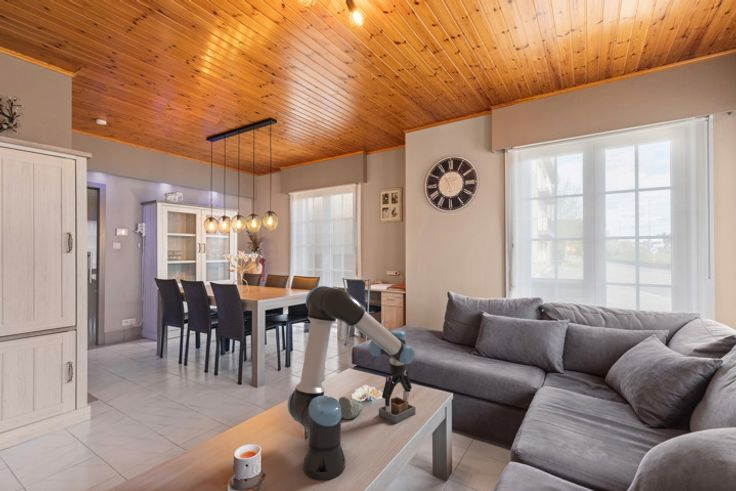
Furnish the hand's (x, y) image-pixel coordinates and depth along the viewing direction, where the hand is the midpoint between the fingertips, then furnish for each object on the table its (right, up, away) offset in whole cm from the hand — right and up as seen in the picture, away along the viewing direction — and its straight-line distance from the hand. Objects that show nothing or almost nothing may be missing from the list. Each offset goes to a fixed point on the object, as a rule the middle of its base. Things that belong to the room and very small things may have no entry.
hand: (397, 408), depth 166 cm
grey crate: (0, -3, 0) cm, 3 cm away
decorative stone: (-23, -3, -1) cm, 23 cm away
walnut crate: (0, -3, 0) cm, 3 cm away
